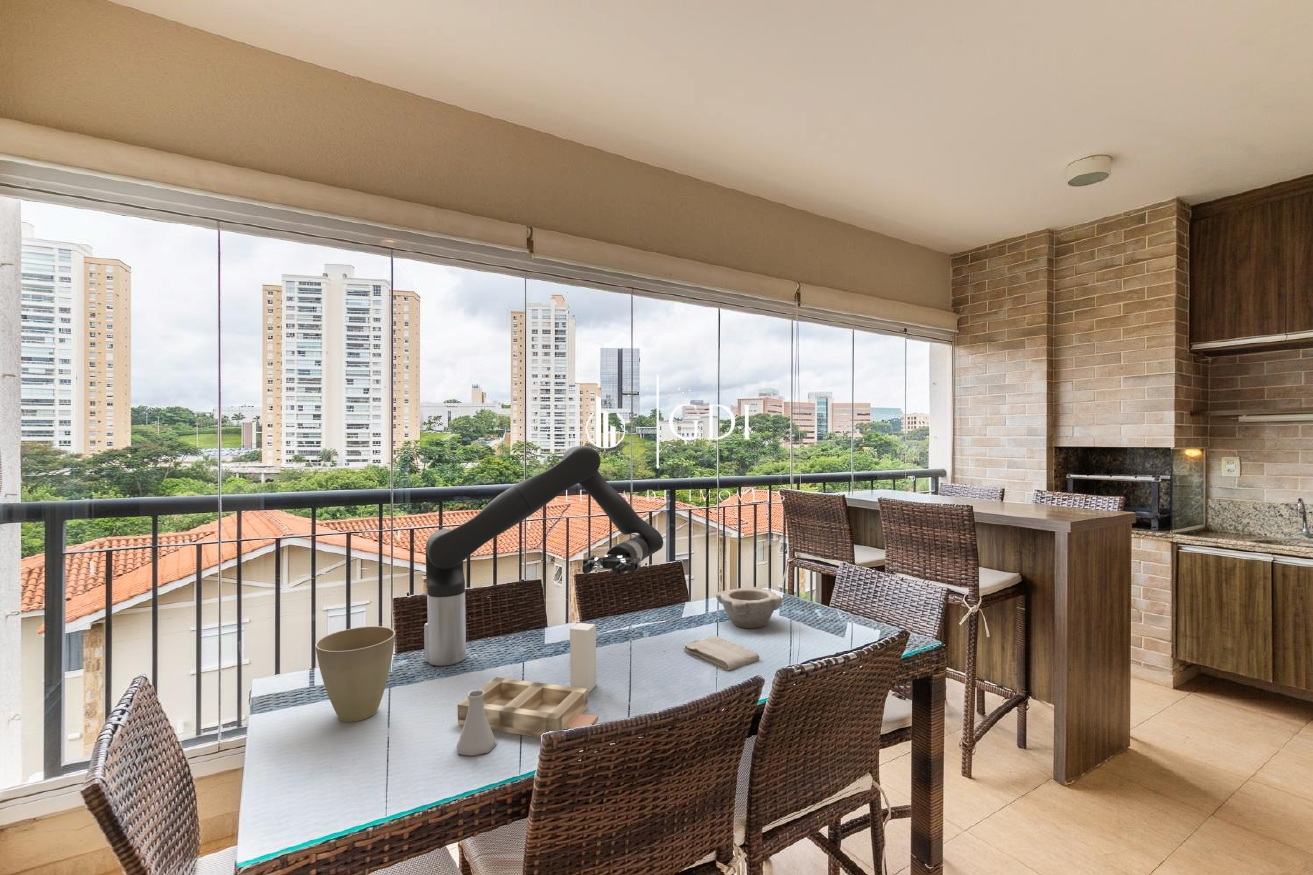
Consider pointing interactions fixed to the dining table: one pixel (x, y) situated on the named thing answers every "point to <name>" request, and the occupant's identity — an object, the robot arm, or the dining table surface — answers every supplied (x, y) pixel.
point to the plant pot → (356, 669)
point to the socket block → (531, 707)
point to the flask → (476, 728)
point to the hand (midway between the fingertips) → (600, 570)
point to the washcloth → (721, 653)
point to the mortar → (749, 606)
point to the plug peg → (583, 656)
